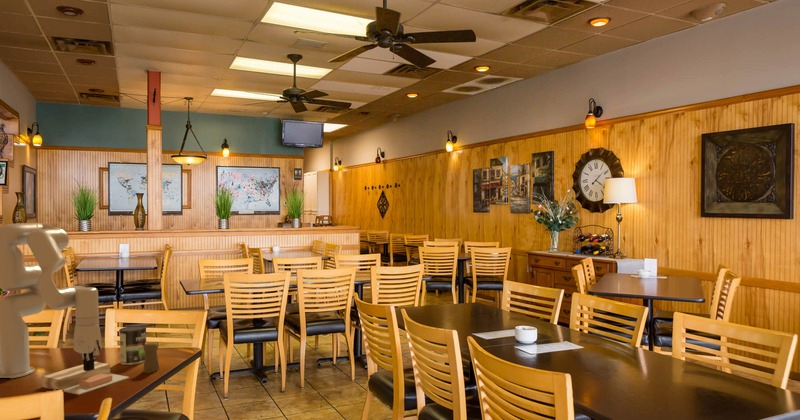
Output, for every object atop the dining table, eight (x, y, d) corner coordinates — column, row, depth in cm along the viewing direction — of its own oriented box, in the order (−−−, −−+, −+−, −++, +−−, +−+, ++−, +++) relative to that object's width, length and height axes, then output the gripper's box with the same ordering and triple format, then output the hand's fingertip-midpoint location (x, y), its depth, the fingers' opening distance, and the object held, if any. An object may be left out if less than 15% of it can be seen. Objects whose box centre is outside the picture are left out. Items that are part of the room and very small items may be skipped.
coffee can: (152, 358, 239) (151, 325, 238) (136, 365, 229) (135, 331, 228) (131, 357, 241) (130, 325, 241) (114, 364, 231) (113, 330, 230)
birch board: (42, 387, 204) (42, 376, 204) (93, 371, 222) (93, 361, 222) (59, 390, 199) (59, 379, 199) (110, 374, 217) (110, 364, 217)
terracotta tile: (89, 382, 200) (90, 388, 200) (112, 375, 209) (112, 380, 209) (79, 380, 203) (79, 385, 203) (101, 373, 211) (101, 378, 211)
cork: (162, 368, 224) (161, 340, 224) (156, 372, 218) (155, 344, 218) (147, 368, 224) (146, 341, 224) (140, 373, 218) (139, 345, 218)
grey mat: (59, 390, 199) (59, 389, 199) (110, 374, 217) (110, 373, 217) (79, 395, 195) (79, 393, 195) (129, 378, 212) (129, 377, 212)
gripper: (65, 321, 207) (66, 370, 207) (90, 324, 200) (92, 375, 201) (84, 317, 214) (85, 364, 214) (109, 320, 207) (111, 369, 207)
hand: (89, 369), depth 207 cm, fingers closed
